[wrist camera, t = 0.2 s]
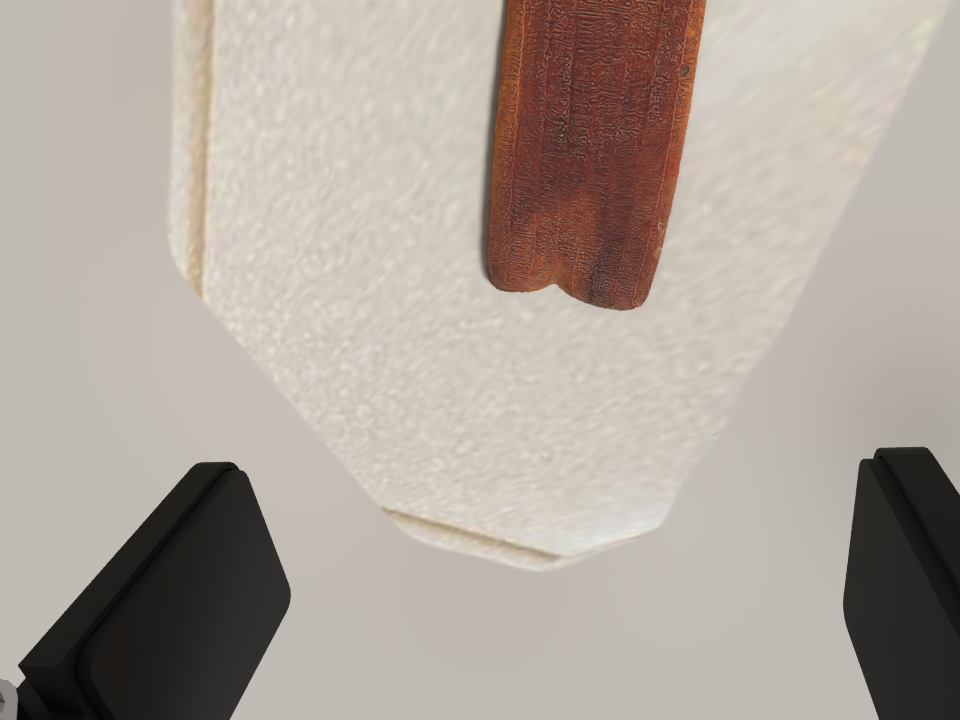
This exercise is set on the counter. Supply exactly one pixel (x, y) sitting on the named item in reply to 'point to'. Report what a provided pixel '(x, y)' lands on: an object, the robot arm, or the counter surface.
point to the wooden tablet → (589, 144)
